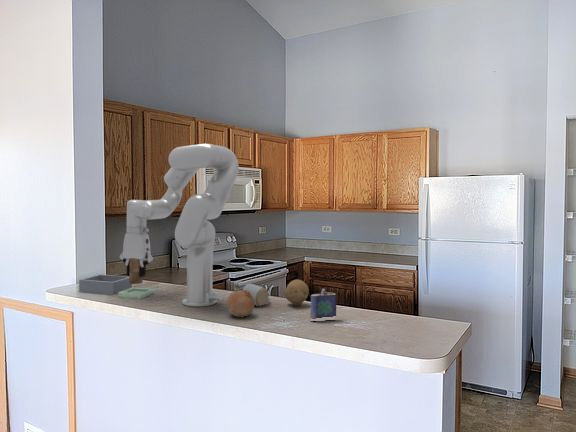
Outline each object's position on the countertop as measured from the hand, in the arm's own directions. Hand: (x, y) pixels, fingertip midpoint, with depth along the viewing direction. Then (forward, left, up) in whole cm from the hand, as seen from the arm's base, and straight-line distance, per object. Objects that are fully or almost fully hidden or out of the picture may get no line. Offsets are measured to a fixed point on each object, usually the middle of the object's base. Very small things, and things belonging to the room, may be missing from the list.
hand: (136, 275), depth 183 cm
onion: (-50, +15, -8) cm, 53 cm away
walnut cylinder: (0, 0, -3) cm, 3 cm away
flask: (-78, +11, -8) cm, 79 cm away
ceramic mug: (-50, -2, -8) cm, 51 cm away
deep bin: (+17, -4, -8) cm, 19 cm away
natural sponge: (-65, -5, -8) cm, 66 cm away
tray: (0, 0, -8) cm, 8 cm away
